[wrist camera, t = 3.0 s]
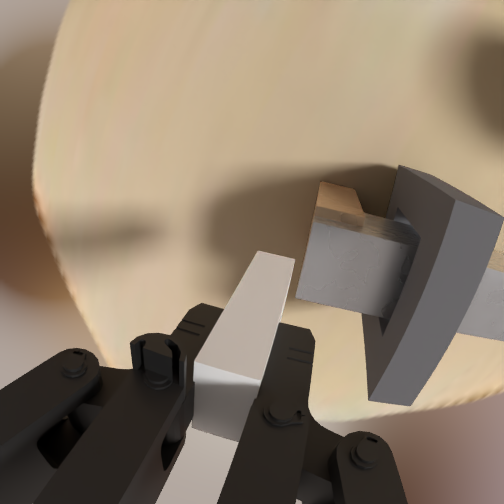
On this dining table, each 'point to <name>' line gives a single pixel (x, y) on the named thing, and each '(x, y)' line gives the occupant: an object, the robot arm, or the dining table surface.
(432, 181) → the collar
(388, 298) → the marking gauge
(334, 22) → the dining table surface
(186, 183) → the dining table surface
